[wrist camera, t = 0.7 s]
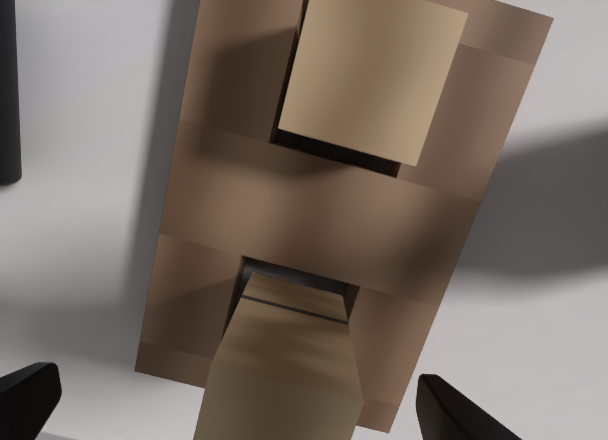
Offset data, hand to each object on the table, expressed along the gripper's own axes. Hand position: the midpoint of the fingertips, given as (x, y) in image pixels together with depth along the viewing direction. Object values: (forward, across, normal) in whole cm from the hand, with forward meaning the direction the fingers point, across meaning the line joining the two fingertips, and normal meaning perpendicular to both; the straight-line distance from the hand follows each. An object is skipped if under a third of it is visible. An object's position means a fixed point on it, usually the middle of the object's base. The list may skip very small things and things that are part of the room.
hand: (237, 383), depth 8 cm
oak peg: (+10, 0, +4) cm, 11 cm away
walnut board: (+13, -2, -2) cm, 14 cm away
